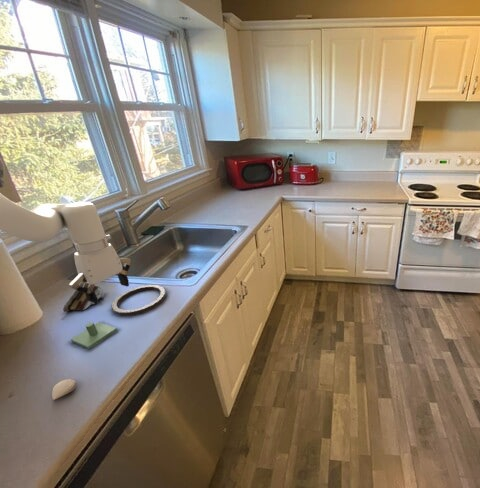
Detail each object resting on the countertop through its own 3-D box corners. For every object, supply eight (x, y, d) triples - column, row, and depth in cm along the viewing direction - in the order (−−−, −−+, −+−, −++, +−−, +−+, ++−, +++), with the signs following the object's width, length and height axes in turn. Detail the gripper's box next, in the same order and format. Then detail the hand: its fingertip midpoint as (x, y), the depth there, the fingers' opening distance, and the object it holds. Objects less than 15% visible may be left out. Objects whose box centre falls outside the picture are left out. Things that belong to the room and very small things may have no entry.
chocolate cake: (83, 316, 92) (100, 280, 96) (60, 311, 91) (78, 276, 95) (99, 317, 101) (114, 285, 105) (78, 313, 100) (94, 280, 104)
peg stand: (71, 341, 81) (65, 330, 79) (100, 324, 88) (94, 312, 86) (89, 349, 79) (83, 337, 77) (117, 330, 85) (112, 319, 84)
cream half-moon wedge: (81, 383, 69) (77, 376, 68) (65, 402, 64) (60, 395, 63) (63, 384, 69) (59, 377, 68) (46, 403, 64) (41, 396, 63)
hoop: (102, 309, 95) (100, 306, 94) (144, 284, 108) (143, 281, 108) (135, 320, 89) (134, 317, 89) (175, 293, 103) (174, 289, 102)
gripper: (113, 232, 90) (128, 277, 98) (48, 254, 76) (72, 306, 83) (129, 235, 88) (143, 281, 95) (66, 260, 73) (88, 312, 80)
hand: (110, 293), depth 89 cm, fingers open, 9 cm apart
